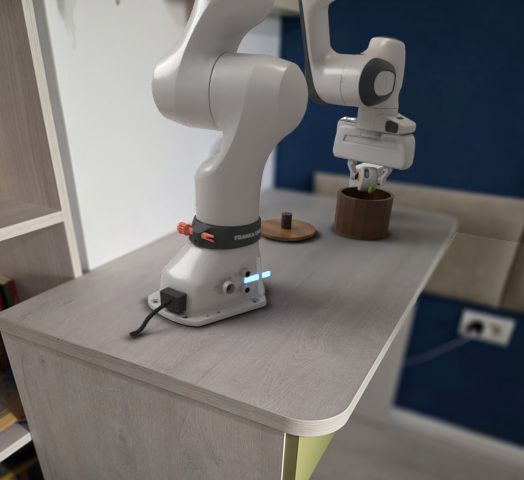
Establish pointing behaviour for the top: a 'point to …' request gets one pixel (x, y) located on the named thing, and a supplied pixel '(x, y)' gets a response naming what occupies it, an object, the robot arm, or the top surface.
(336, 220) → the round wooden container
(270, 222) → the lid
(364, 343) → the top surface
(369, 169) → the roller toy
